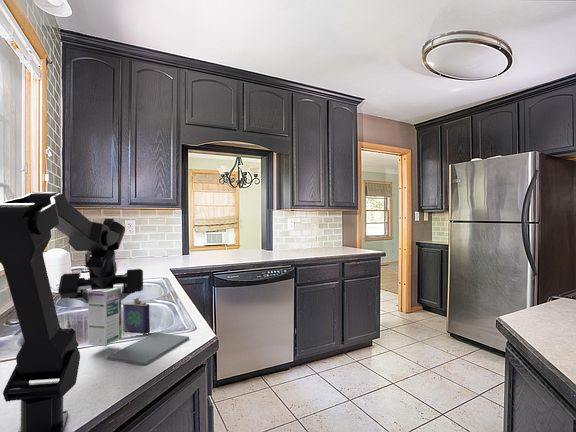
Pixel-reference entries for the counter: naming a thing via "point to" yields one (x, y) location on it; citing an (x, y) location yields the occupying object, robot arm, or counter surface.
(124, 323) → the flask
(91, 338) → the syrup box
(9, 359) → the counter surface
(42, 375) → the robot arm
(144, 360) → the slate mat
